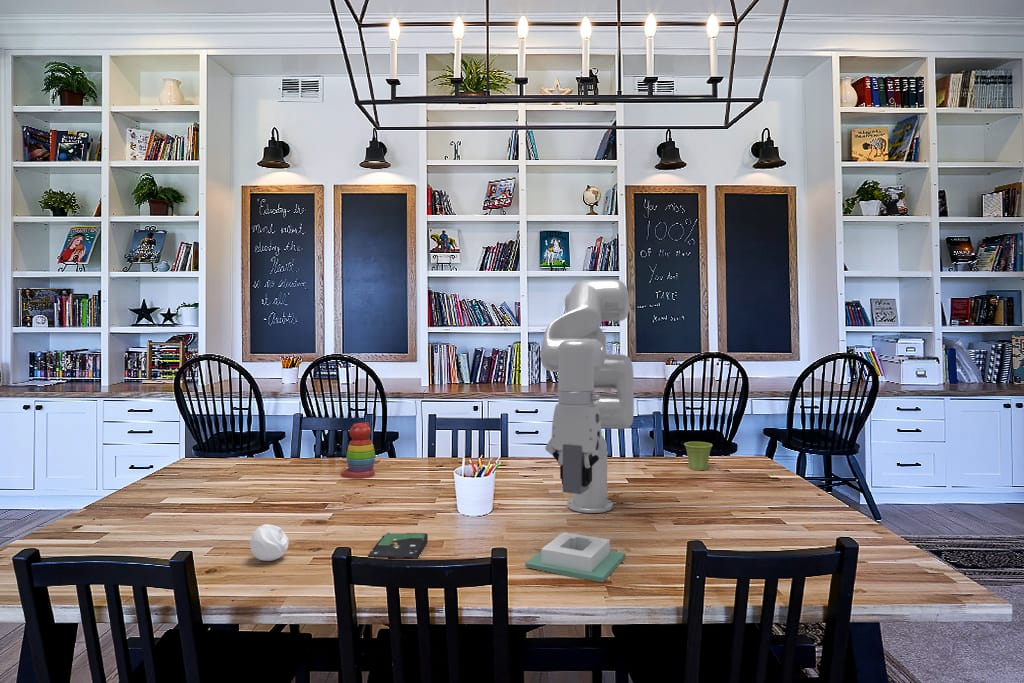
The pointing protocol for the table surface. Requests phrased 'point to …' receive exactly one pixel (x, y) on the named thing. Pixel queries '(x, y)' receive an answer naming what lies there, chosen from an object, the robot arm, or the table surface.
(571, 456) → the plug
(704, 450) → the plant pot
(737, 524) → the table surface
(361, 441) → the stacking bear
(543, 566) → the board
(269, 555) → the crumpled white paper ball
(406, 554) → the disk drive
